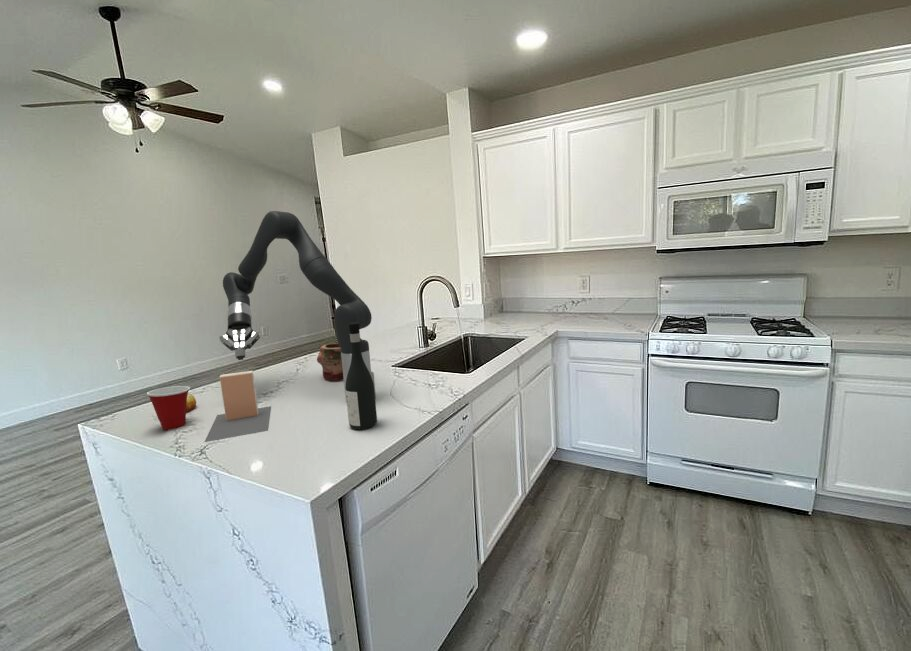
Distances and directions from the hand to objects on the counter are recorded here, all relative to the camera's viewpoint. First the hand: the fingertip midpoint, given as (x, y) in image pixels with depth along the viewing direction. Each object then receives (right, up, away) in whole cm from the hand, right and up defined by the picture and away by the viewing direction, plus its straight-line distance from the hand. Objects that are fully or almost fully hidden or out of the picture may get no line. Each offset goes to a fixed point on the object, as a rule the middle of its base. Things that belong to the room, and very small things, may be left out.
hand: (240, 358), depth 142 cm
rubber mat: (+7, -19, -13) cm, 24 cm away
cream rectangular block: (+5, -18, -9) cm, 20 cm away
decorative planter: (+25, -11, +30) cm, 41 cm away
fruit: (-21, -18, +1) cm, 27 cm away
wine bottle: (+45, -18, -19) cm, 52 cm away
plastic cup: (-13, -20, -13) cm, 27 cm away
